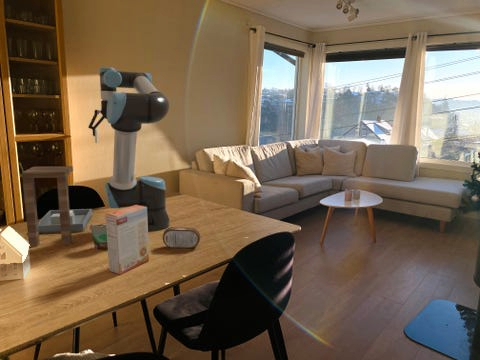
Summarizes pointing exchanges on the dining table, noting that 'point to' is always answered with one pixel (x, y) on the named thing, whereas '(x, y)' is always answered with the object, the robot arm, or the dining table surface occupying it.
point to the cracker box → (127, 238)
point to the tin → (181, 237)
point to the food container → (99, 236)
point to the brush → (56, 218)
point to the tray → (45, 224)
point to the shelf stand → (30, 200)
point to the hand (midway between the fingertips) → (110, 142)
